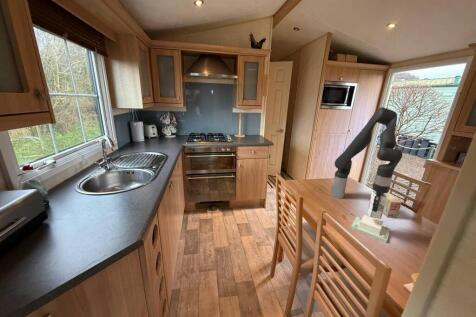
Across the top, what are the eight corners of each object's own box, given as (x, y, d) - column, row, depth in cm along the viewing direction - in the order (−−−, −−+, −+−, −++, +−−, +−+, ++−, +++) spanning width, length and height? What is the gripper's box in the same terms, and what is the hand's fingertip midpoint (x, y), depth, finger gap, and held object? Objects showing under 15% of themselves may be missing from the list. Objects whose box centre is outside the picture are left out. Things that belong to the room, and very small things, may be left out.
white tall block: (377, 213, 115) (383, 192, 111) (381, 219, 110) (387, 196, 105) (366, 212, 117) (372, 190, 113) (369, 217, 112) (375, 195, 107)
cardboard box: (370, 201, 148) (373, 186, 144) (378, 201, 148) (382, 187, 144) (387, 217, 128) (391, 201, 124) (397, 218, 127) (402, 202, 124)
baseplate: (350, 228, 117) (352, 220, 116) (356, 218, 127) (357, 211, 125) (386, 242, 106) (388, 234, 104) (389, 230, 115) (392, 222, 114)
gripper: (376, 177, 114) (370, 201, 119) (371, 185, 104) (365, 211, 109) (392, 181, 109) (385, 206, 115) (388, 189, 100) (381, 216, 105)
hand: (375, 208), depth 112 cm, fingers closed on white tall block, 7 cm apart
